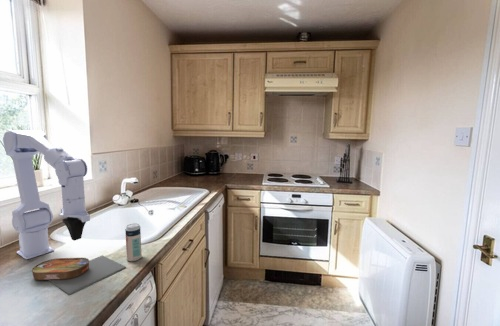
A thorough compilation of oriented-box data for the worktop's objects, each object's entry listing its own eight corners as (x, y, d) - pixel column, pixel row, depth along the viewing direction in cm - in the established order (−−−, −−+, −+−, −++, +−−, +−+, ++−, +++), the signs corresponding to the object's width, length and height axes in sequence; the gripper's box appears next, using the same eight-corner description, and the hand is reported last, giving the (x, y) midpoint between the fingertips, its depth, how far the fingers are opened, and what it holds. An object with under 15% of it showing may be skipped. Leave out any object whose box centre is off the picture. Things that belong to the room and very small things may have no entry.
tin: (94, 257, 79) (77, 269, 70) (95, 266, 79) (77, 280, 71) (47, 258, 78) (23, 270, 70) (47, 267, 78) (24, 281, 70)
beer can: (132, 254, 87) (131, 222, 86) (144, 256, 86) (143, 223, 85) (123, 261, 82) (121, 227, 81) (135, 263, 81) (134, 228, 80)
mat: (46, 278, 72) (46, 277, 72) (102, 256, 86) (102, 255, 86) (69, 295, 65) (68, 293, 65) (125, 267, 78) (125, 266, 78)
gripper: (48, 197, 77) (51, 238, 78) (69, 204, 69) (73, 249, 71) (73, 192, 83) (76, 231, 84) (96, 199, 75) (98, 240, 77)
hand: (76, 239), depth 78 cm, fingers closed
